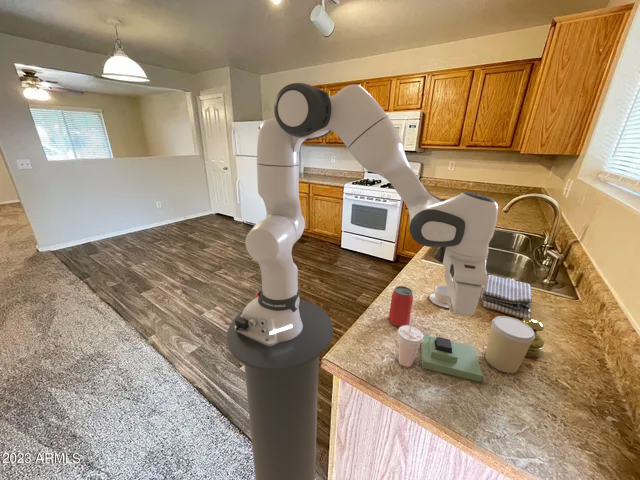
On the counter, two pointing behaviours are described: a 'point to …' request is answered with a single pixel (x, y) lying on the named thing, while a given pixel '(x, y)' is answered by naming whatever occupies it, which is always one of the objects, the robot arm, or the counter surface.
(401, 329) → the smoothie
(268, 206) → the robot arm
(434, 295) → the teacup
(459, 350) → the green flat stepped block
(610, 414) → the counter surface
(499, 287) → the towel
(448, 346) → the key
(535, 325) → the gold stacked stones ornament
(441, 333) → the counter surface
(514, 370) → the coffee cup
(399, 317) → the beer can
